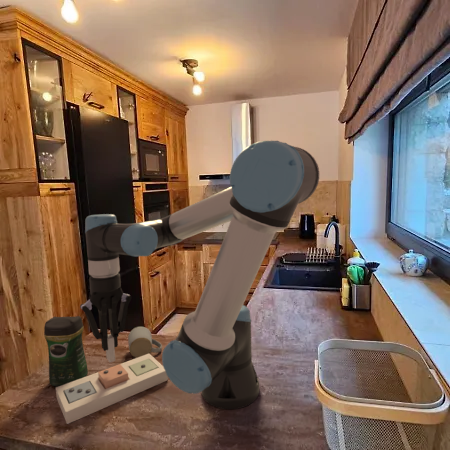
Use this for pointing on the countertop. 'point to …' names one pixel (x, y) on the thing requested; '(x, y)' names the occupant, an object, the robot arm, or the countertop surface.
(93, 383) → the button panel
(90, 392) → the three-pip button
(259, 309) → the countertop surface
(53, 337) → the coffee jar
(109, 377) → the two-pip button
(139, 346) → the ceramic mug
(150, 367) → the one-pip button
